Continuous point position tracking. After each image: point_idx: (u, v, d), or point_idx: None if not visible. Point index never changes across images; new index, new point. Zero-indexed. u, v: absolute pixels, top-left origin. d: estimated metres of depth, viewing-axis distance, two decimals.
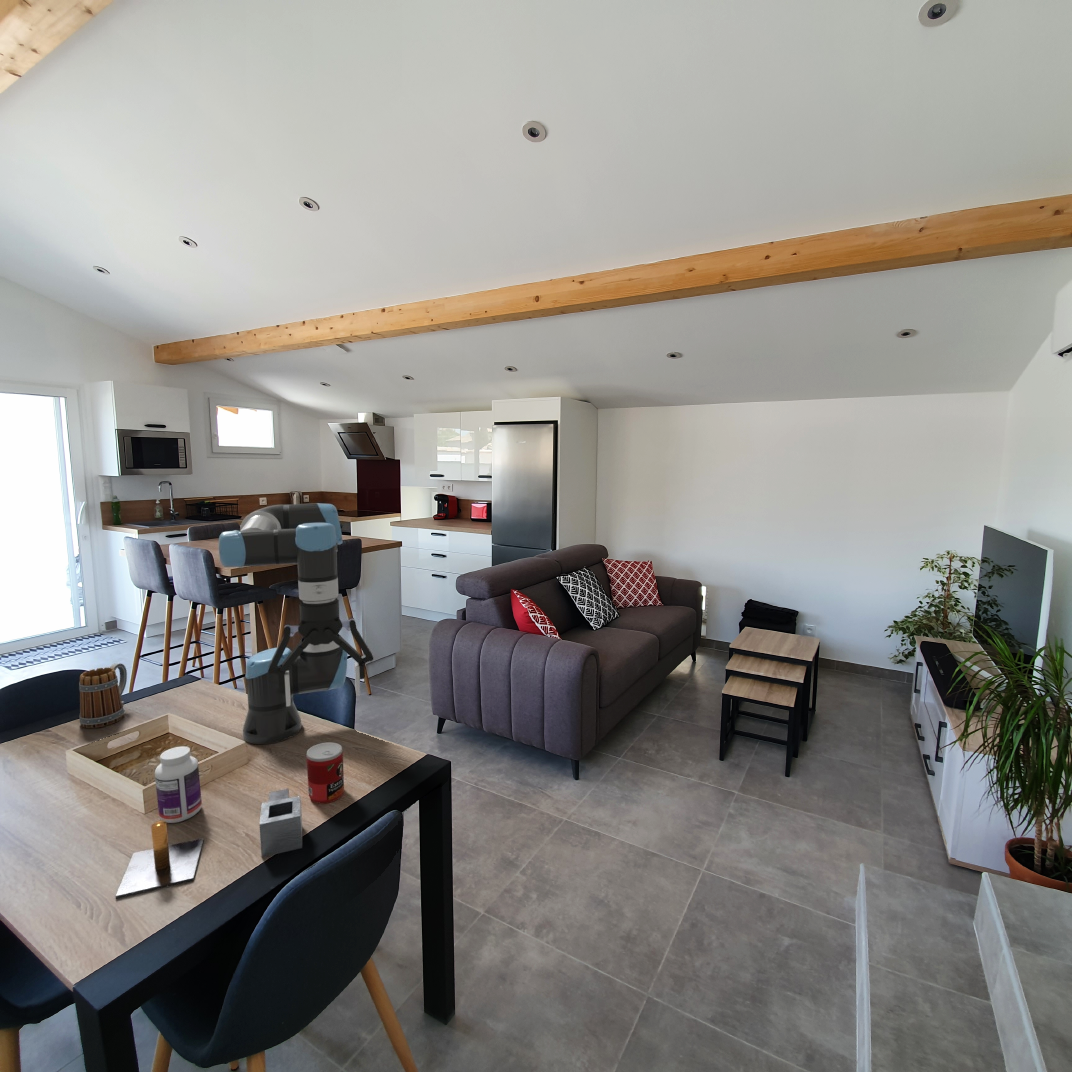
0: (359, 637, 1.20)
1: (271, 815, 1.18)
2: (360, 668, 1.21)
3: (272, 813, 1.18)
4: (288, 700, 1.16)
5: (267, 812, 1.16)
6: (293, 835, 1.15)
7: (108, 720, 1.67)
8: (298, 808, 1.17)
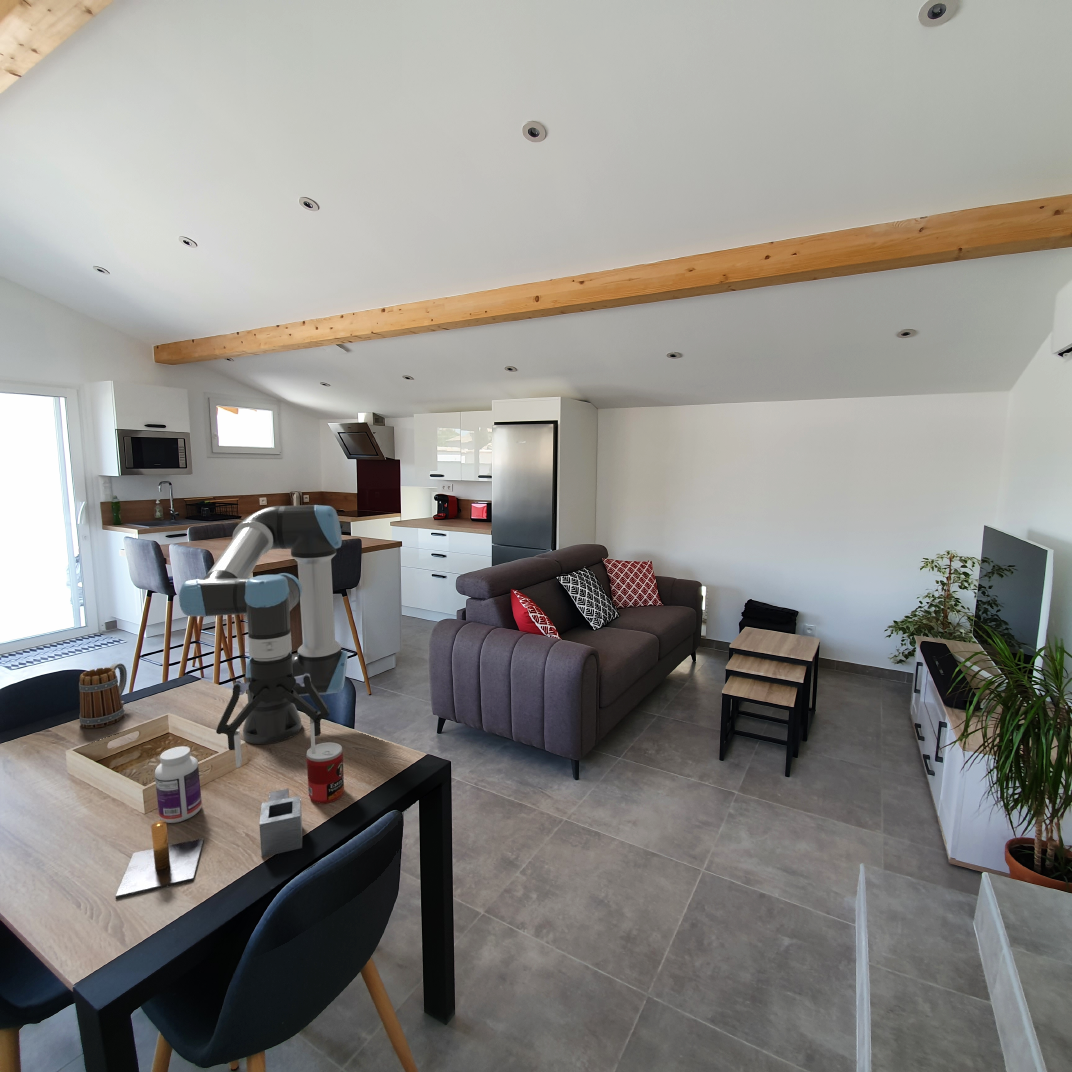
0: (314, 693, 1.15)
1: (271, 815, 1.18)
2: (315, 725, 1.16)
3: (272, 813, 1.18)
4: (238, 761, 1.11)
5: (267, 812, 1.16)
6: (293, 835, 1.15)
7: (108, 720, 1.67)
8: (298, 808, 1.17)
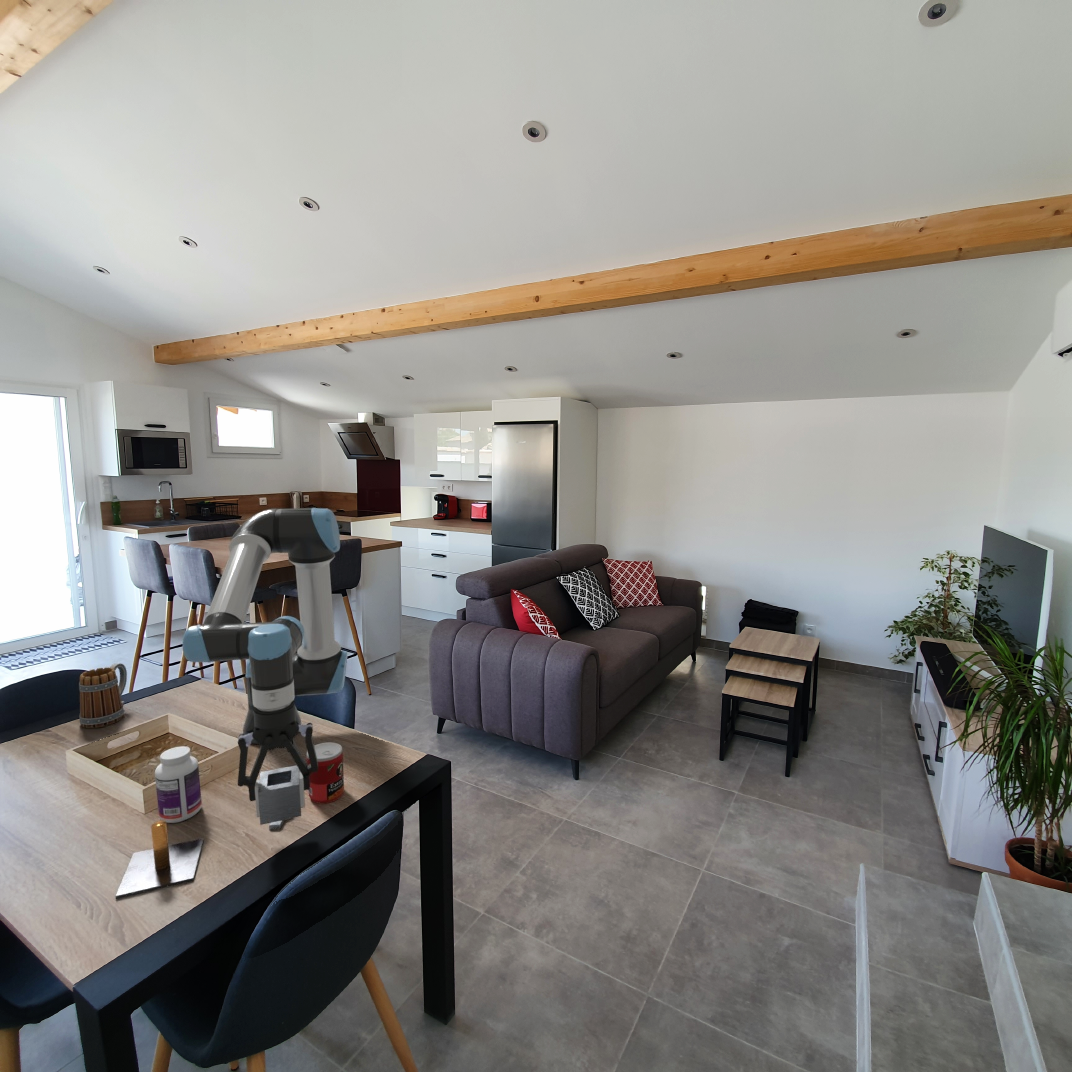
0: (311, 746, 1.16)
1: (270, 784, 1.18)
2: (304, 779, 1.17)
3: (271, 782, 1.18)
4: None
5: (266, 780, 1.15)
6: (292, 803, 1.14)
7: (108, 720, 1.67)
8: (297, 777, 1.17)
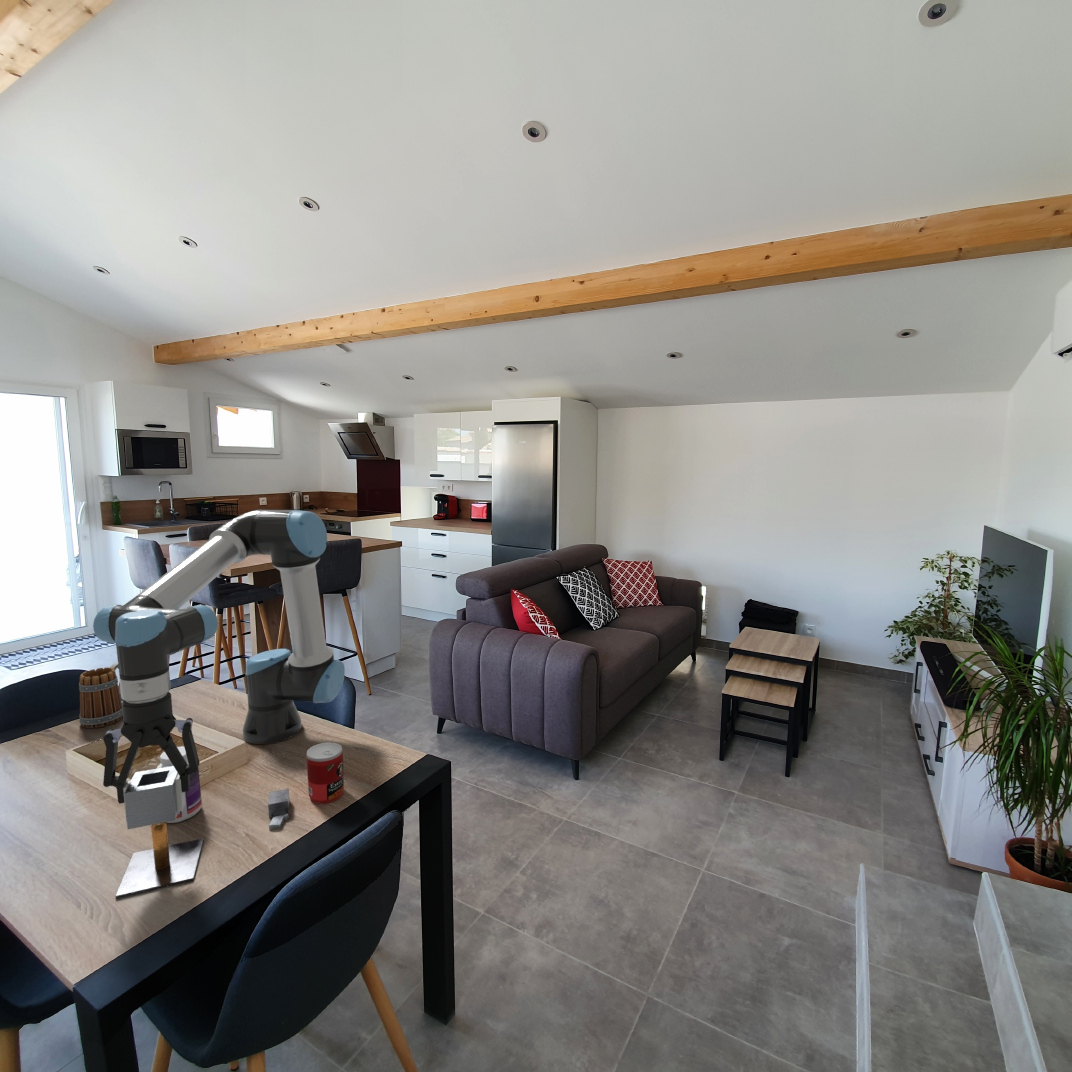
0: (189, 743, 1.07)
1: (145, 785, 1.09)
2: (182, 780, 1.08)
3: (146, 783, 1.09)
4: None
5: (138, 781, 1.06)
6: (164, 806, 1.05)
7: (108, 720, 1.67)
8: (173, 777, 1.07)
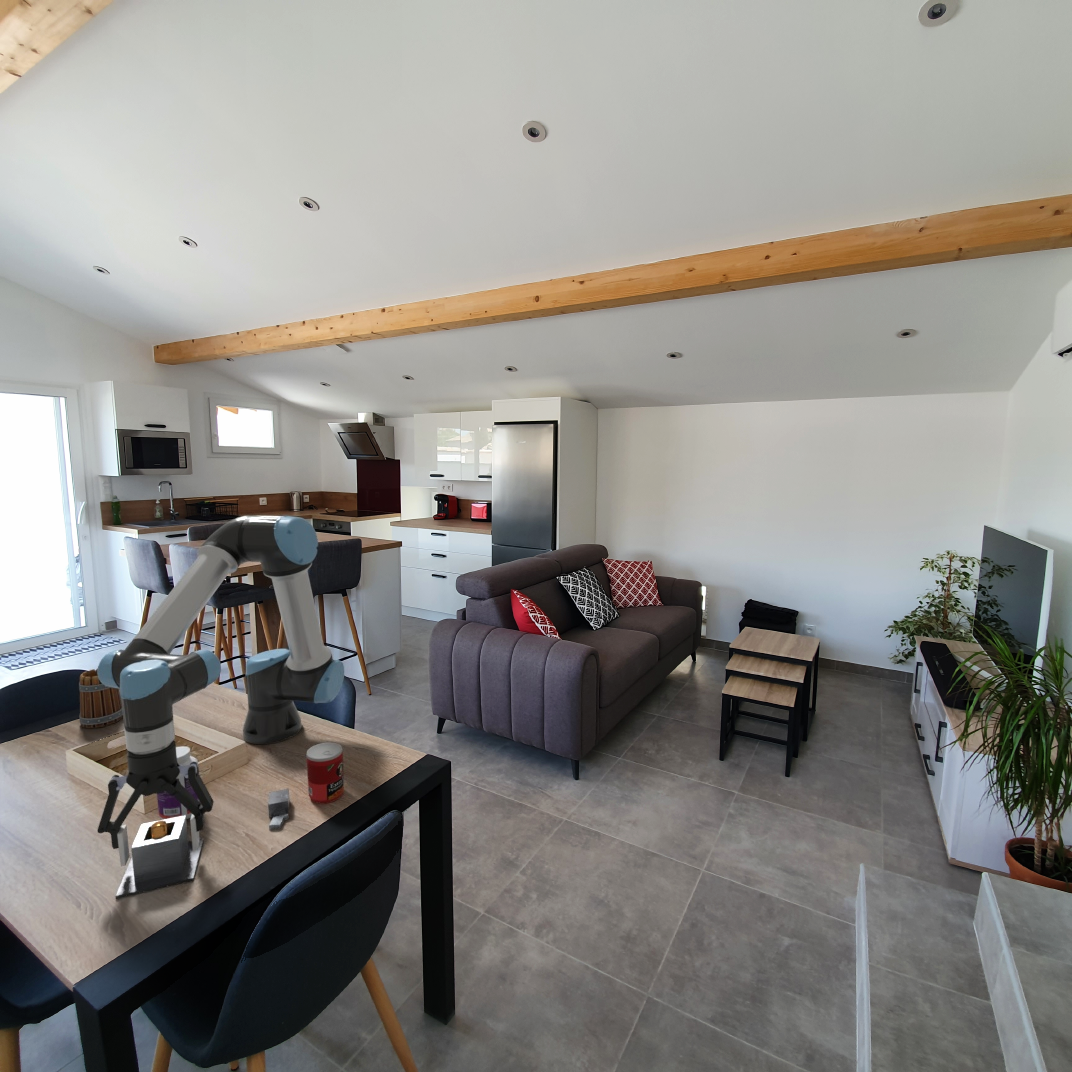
0: (197, 786, 1.09)
1: (151, 837, 1.10)
2: (197, 820, 1.10)
3: None
4: (123, 860, 1.06)
5: (144, 834, 1.08)
6: (170, 859, 1.07)
7: (108, 720, 1.67)
8: (179, 829, 1.09)
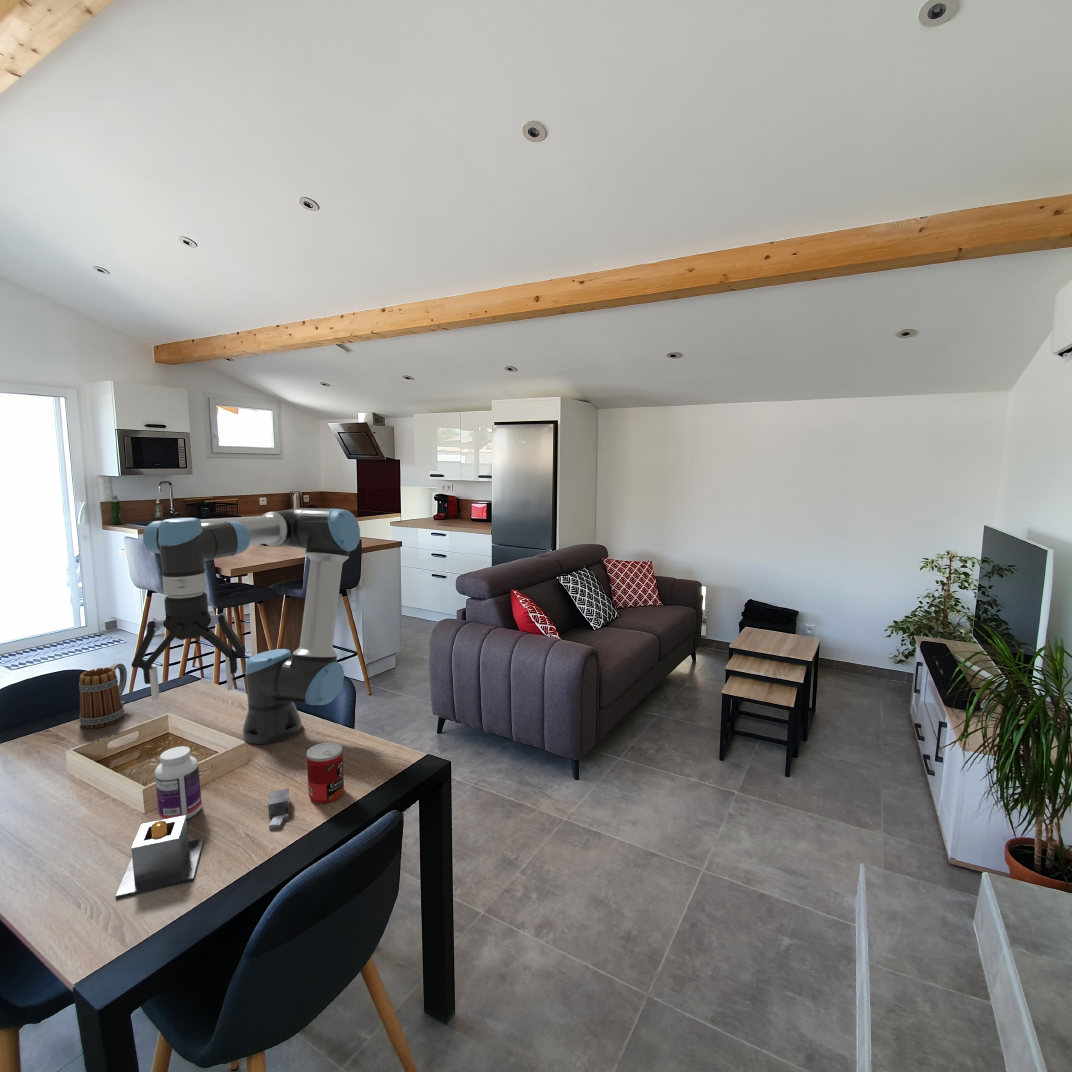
0: (229, 632, 1.20)
1: (151, 837, 1.10)
2: (231, 663, 1.22)
3: None
4: (154, 694, 1.17)
5: (144, 834, 1.08)
6: (170, 859, 1.07)
7: (108, 720, 1.67)
8: (179, 829, 1.09)
